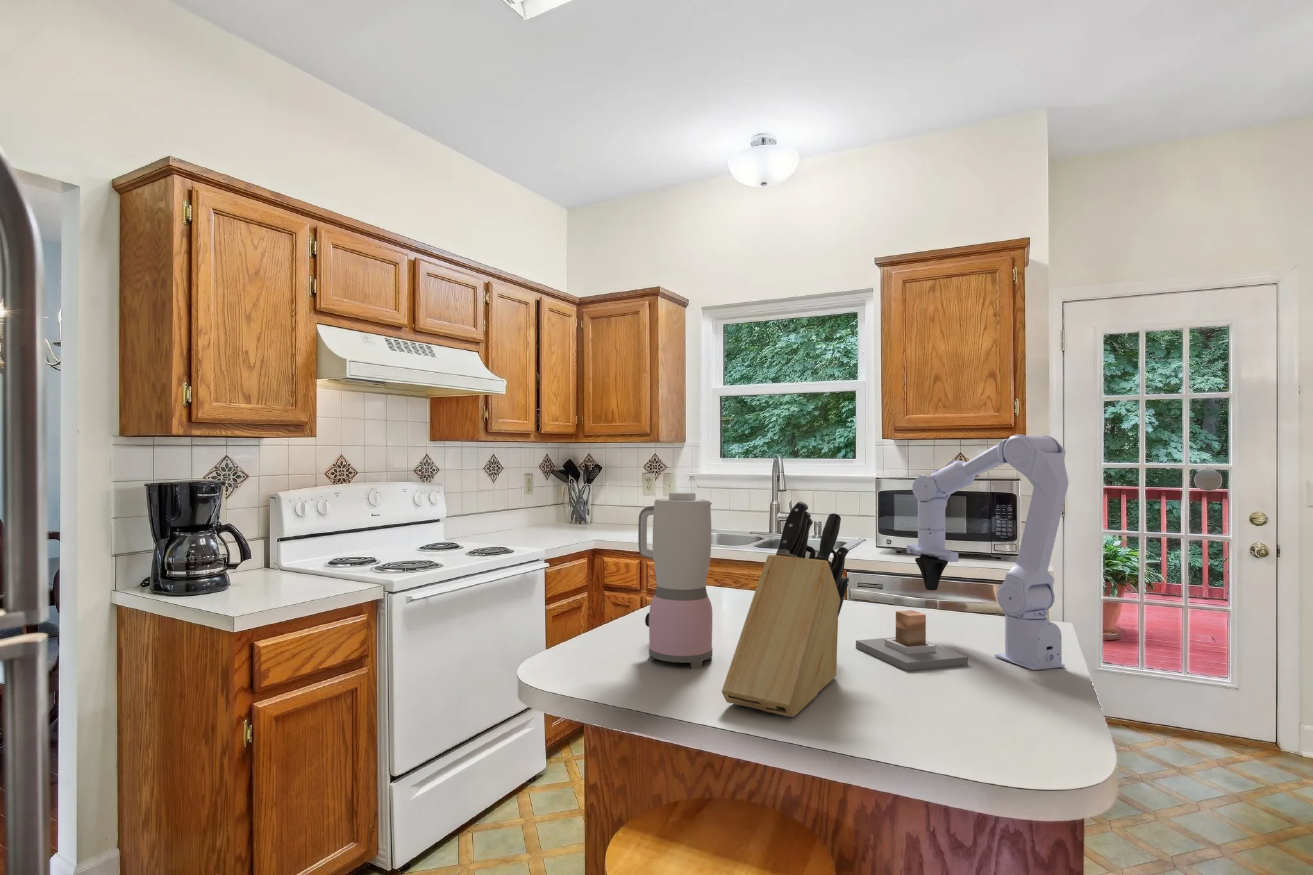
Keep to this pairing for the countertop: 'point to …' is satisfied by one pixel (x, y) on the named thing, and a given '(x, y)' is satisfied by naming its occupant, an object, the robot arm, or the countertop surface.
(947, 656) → the collar board
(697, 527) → the blender
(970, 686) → the countertop surface
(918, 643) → the copper rectangular block
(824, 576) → the knife block
